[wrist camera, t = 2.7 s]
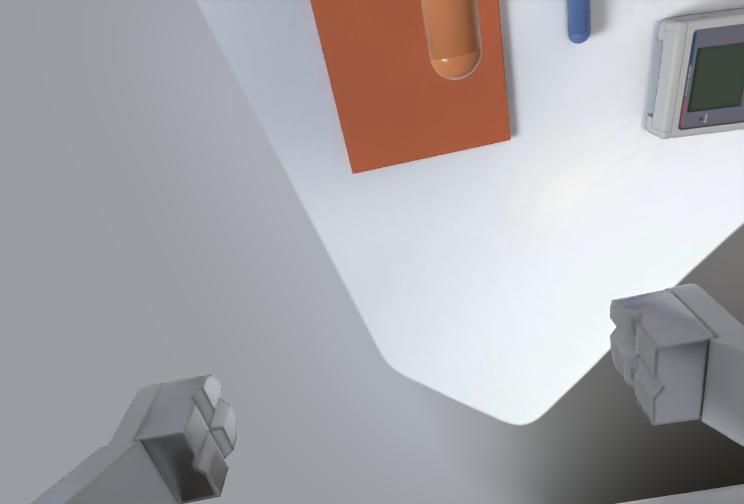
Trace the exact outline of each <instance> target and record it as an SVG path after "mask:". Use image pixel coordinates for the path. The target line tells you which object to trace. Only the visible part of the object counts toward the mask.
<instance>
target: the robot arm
mask: <svg viewBox="0 0 744 504" xmlns="http://www.w3.org/2000/svg"><path fill="white" fill-rule="evenodd" d="M610 318H611V319H612V321H613V322H614V324H615V325H616V326H617V327H616V329H615V330H614V331H613V333H612V334H611V335H610V341H611V352H612V356H613V360H614V363H615V366H616V368H617V370H618V372H619V374H620V376H621V377H622V379H623V381H624V382H625V383H627V384H629V385H631V386H633V387H635V388H636V390H635V399H636V401H637V402H638V404H639V405H640V407H641V408H642V410H643V411H644V413H645V414H646V416H647V417H648V419H649V420H650V422H651V423H652V425H658V424H666V423H673V422H680V421H687V420H695V419H702V421H703V422H704V423H706V424H708V425H709V426H711V427H712V428H714V429H716V430H718V431H719V432H721V433H722V434H724V435H726V436H727V437H729V438H730V439H732V440H734V441H735V442H737V443H739V444H740V445H742V446H744V326H743V325H742V324H741V323H740V322H739V321H738V320H737V319H735V318H734V317H733V316H732V315H731V314H730V313H729V312H728V311H727V310H725V309H724V308H723V307H722V306H721V305H720V304H719V303H718V302H716V301H715V300H714V299H713V298H712V297H711V296H710V295H709V294H707V293H706V292H705V291H704V290H703V289H702V288H700V287H699V286H698V285H696V284H693V283H691V284H687V285H682V286H677V287H672V288H667V289H665V290H662V291H657V292H652V293H646V294H641V295H636V296H631V297H625V298H620V299H615V300H612V302H611V306H610ZM221 392H222V387H221V385H220V383H219V381H218V379H217V377H215V376H213V375H206V376H200V377H194V378H187V379H181V380H175V381H169V382H166V383H158V384H153V385H147V386H144V387H142V388H141V389H139V391H138V393H137V394H136V396H135V398H134V399H133V401H132V403H131V405H130V407H129V409H128V410H127V412H126V414H125V416H124V417H123V419H122V421H121V423H120V425H119V426H118V428H117V430H116V432H115V434H114V435H113V437H112V439H111V441H110V442H109V444H108V446H105V447H100V448H99V449H98V450H97V451H95V452H94V453H93V454H92V455H90V456H89V457H88V458H87V459H85V460H84V461H83V462H82V463H80V464H79V465H78V466H77V467H76V468H74V469H73V470H72V471H71V472H69V473H68V474H67V475H66V476H65V477H63V478H62V479H61V480H59V481H58V482H57V483H56V484H55V485H54V486H52V487H51V488H50V489H49V490H47V491H46V492H45V493H44V494H42V495H41V496H40V497H39V498H37V499H36V500H35V501H34V502H32V503H31V504H183V503H189V502H194V501H199V500H204V499H210V498H215V497H220V496H221V492H222V489H223V485H224V482H225V478H226V475H227V471H228V466H227V464H226V462H225V460H224V459H225V458H226V457H227V456H228V455H229V454H230V453H231V452H232V451H233V450H234V446H235V442H236V420H235V416H234V412H233V410H232V408H231V406H230V404H228V403H227V402H225V401H224V400H222V399H220V395H221ZM619 504H744V484H743V485H736V486H730V487H723V488H716V489H710V490H704V491H698V492H690V493H684V494H677V495H671V496H664V497H658V498H651V499H645V500H638V501H632V502H625V503H619Z"/></svg>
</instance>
